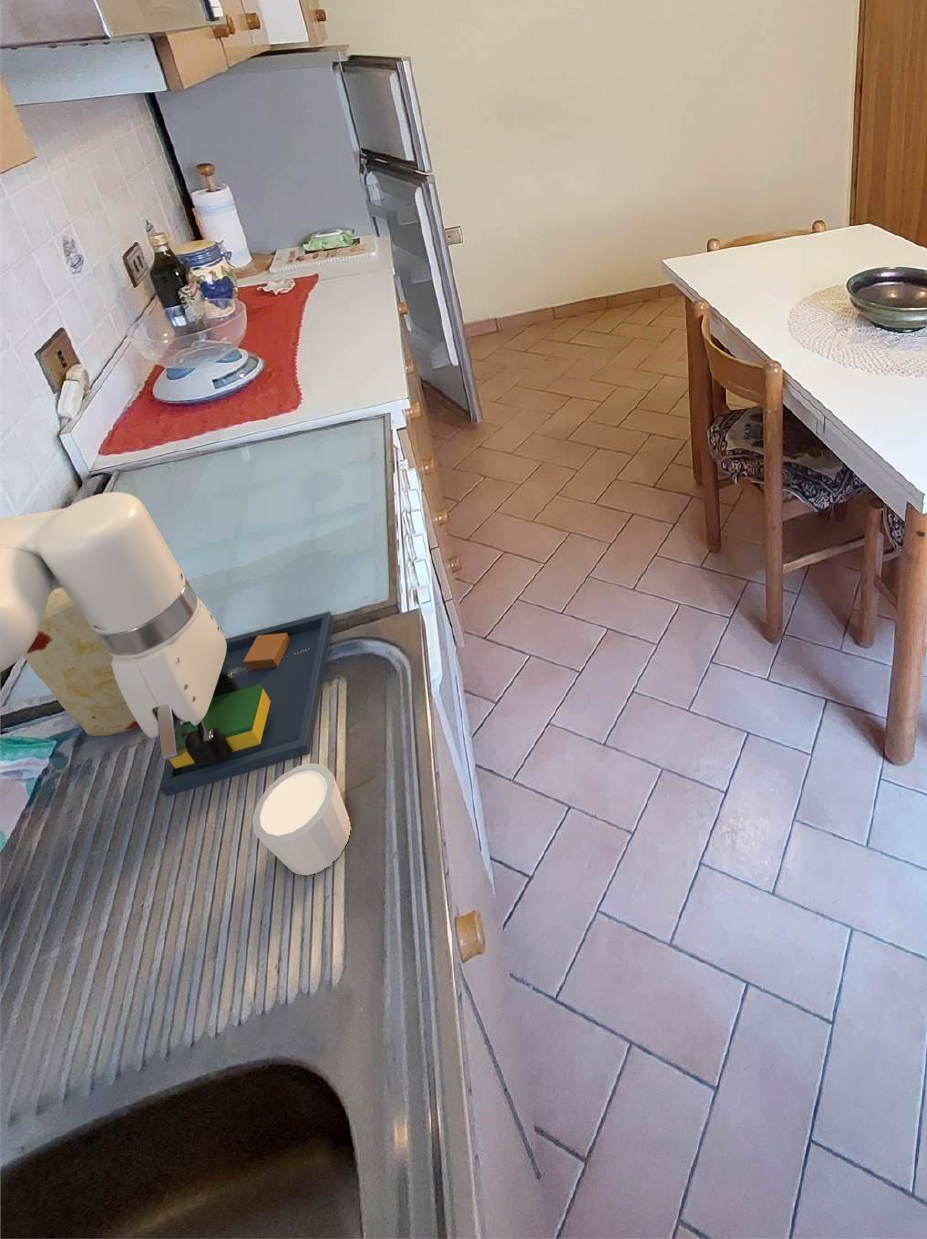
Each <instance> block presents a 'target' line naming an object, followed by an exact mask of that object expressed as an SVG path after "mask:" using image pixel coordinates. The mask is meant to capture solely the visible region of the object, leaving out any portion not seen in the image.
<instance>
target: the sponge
mask: <svg viewBox="0 0 927 1239" xmlns="http://www.w3.org/2000/svg"><path fill="white" fill-rule="evenodd" d="M269 706H270V700H269V698H268V696H267V694H266V692H265V691H264V689H263V687H262V685H261V684H259V685H256V686H252V687H249V688H245V689H241V690H238V691H234V692H231V693H227V694H223V695H220V696H216V697H212V699H211V702H210V705H209V708H208V711H207V714H208V717H209V720H210V723H211V726H212V729H214V728H218V729H219V730H220V732H221V733H222V735H223V737H224V738H225V740H226V741H227V743H228V744H229V746H230V748H231V749H232V752H234V751H238V750H241V749H245V748H248V747H251V746H255V745H258V744H260V743H261V739H262V735H263V730H264V726H265V722H266V718H267V714H268V710H269ZM184 726H185V728H186V731H187V733H189V732H192V731H195V730H199V729H198V726H197V725H196V726H194V725H193V724H191V723H189V724H186V725H184ZM169 760H170V762H171V763H172V765H173V766H174V767H175V768H179V767H182V766H186V765H189V764H193V763H195V762H194V761H193V759H192V758H191V756H190V755H189V754H188V752H187V751H186V752H185V753H184V754H182V755H181V756H179V757H175V758H172V759H168V761H169Z"/></svg>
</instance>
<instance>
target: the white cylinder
mask: <svg viewBox="0 0 927 1239" xmlns="http://www.w3.org/2000/svg"><path fill="white" fill-rule="evenodd" d="M251 820H252V831H253V834H254V835H255V836H256V837H257V838H258V840H259V841H260V842H261V843H262V844H263V845H264V846H265V847H266V848H267V849H268V851H270V852H271V853H272V854H273V855H274V856H275V857H276V858H277V859H278V860H279V861H280V862H282V864H284V865H285V866H286V867H287V869H288V870H290V871H291V873H293V872H294V873H298V874H301V875H308V874H314V873H317V872H318V871H320V870H322V869H324V868H326V867H328V866H329V865H331V864H332V862H333V861H334V860H335V859H336V857H338V856H339V854H340V853H341V851H342V850H343V849H344V847H345V845H346V844H347V842H348V839H349V835H350V836H351V834H350V830H351V831H352V826H350V825H351V821H349V820H350V817H349V814H348V811H347V808H346V806H345V803H344V800H343V798H342V795H341V792H340V788H339V787H338V783H337V781H336V778H335V775H334V773H333V772H332V771H331V770H330V769H329V768H328V767H327V766H326V765H324V764H319V763H314V762H312V763H307V764H301V765H297V766H295V767H293V768H292V769H290V770H288V771H286V772H285V773H283V774H281V775H280V776H279V777H278V778H276V779H275V780H274V782H272V783H271V784H270V785H269V786H268V787H267V788H266V790H265V791H264V792H263V794H262V796H261V797H260V798H259V800H258V801H257V802H256V806H255V809H254V811H253V815H252V817H251ZM349 840H350V839H349ZM347 845H348V844H347ZM332 865H333V864H332ZM332 865H331V866H332ZM294 873H293V874H294Z"/></svg>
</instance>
